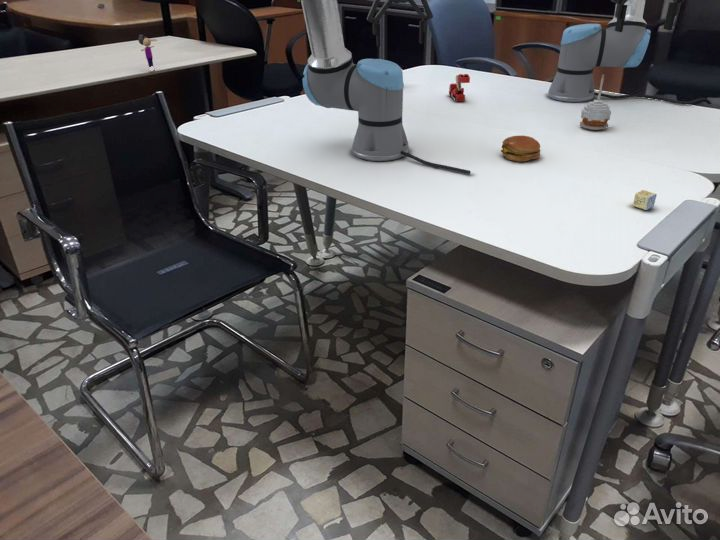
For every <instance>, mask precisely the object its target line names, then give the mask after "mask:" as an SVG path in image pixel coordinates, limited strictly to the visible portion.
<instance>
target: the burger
mask: <svg viewBox="0 0 720 540" xmlns="http://www.w3.org/2000/svg"><path fill="white" fill-rule="evenodd" d="M500 152H501V153H502V156H503V157H505V158H506V159H507V160H509V161H513V162H527V161H530V160H535V159H538V158H540V157H541V144H540V142H539V141H538V140H537V139H535V138H534V137H532V136H529V135H512V136H508V137H506V138H504V139H503V140H502V145H501V149H500Z"/></svg>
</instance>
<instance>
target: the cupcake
mask: <svg viewBox="0 0 720 540" xmlns="http://www.w3.org/2000/svg"><path fill="white" fill-rule="evenodd" d="M604 80H605V74H601V79H600V85H599V89H598V93H599V94H598V96H597V99H593V101H588V103H586V104H585V105H584V107H583V108H582V109H581V112H580V113H581V114H580V119H582V120H581V121H579V126H580V127H582V128H584V129H587V130H590V131H591V130H592V131H599V130H605V129H607V128H609V122H608V121H610V120H611V115H612V110H611V108H610V106H609V104H608V103H607V102H606V101H603V100H602V99H601V97H602V96H601V93H602V90H603V86H604Z"/></svg>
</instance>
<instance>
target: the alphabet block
mask: <svg viewBox="0 0 720 540" xmlns="http://www.w3.org/2000/svg"><path fill="white" fill-rule="evenodd" d="M657 195H658V194H657V193H655V192H651V191H648V190H645V189H642V190H640V191H637V192H636V193H635V194H634V198H633V203H632V206H633V207H635V208H638V209H640V210H641V209H642V210H644V211H648V210H650V209H652V208H654V207H655V203H656V199H657Z"/></svg>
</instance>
